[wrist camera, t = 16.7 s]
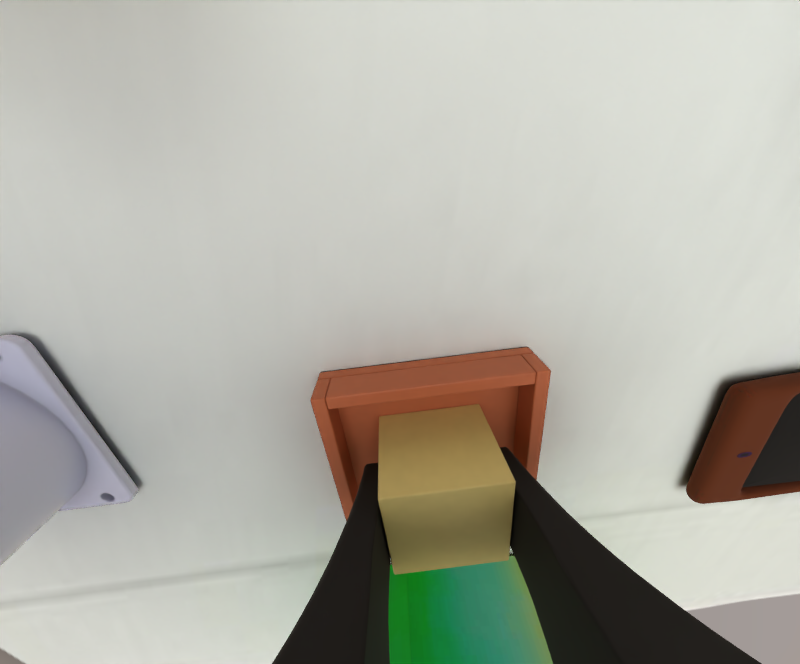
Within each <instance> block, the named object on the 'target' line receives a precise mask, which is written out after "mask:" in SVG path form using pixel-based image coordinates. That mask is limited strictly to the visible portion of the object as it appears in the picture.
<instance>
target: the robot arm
mask: <svg viewBox="0 0 800 664" xmlns="http://www.w3.org/2000/svg"><path fill="white" fill-rule="evenodd" d="M500 450H501V452H502V454H503V456H504V458H505V460H506V462H507V464H508V467H509V469H510V471H511V473H512V475H513V477H514V479H515V481H516V484H515V495H514V506H513V518H512V529H511V540H510V546H511V549H512V551H513V553H514V556H515V558H516V561H517V563H518V565H519V568H520V570H521V573H522V575H523V578H524V580H525V582H526V585H527V587H528V590H529V593H530V595H531V598H532V601H533V603H534V606H535V609H536V612H537V615H538V619H539V622H540V625H541V628H542V631H543V634H544V637H545V640H546V643H547V646H548V649H549V652H550V655H551V659H552V662H553V664H761V663H760V662H758V661H757V660H755V659H754V658H752V657H751V656H749V655H748V654H746V653H745V652H743V651H742V650H740V649H739V648H737V647H736V646H734V645H733V644H732V643H730V642H729V641H727V640H725V639H724V638H723V637H721V636H720V635H718V634H717V633H716V632H714V631H713V630H711V629H710V628H709V627H707V626H706V625H704V624H703V623H702V622H700V621H699V620H697V619H696V618H695V617H693V616H692V615H690V614H689V613H688V612H686V611H685V610H684V609H682V608H681V607H679V606H678V605H677V604H676V603H674V602H673V601H672V600H670V599H669V598H668V597H666V596H665V595H664V594H663V593H661V592H660V591H659V590H657V589H656V588H655V587H653V586H652V585H651V584H649V583H648V582H647V581H646V580H644V579H643V578H642V577H640V576H639V575H638V574H637V573H635V572H634V571H633V570H632V569H630V568H629V567H628V566H627V565H626V564H624V563H623V562H622V561H621V560H620V559H618V558H617V557H616V556H615V555H614V554H612V553H611V552H610V551H609V550H608V549H607V548H605V547H604V546H603V545H602V544H601V543H600V542H598V541H597V540H596V539H595V538H594V537H593V536H592V535H591V534H590V533H588V532H587V531H586V530H585V529H584V528H583V527H582V526H581V525H580V524H579V523H578V522H577V521H576V520H575V519H574V518H573V517H572V516H570V515H569V514H568V513H567V512H566V511H565V510H564V509H563V508H562V507H561V506H560V505H559V504H558V503H557V502H556V501H555V500H554V499H553V498H552V496H551V495H550V494H549V493H548V492H547V491H546V490H545V489H544V488H543V487H542V486H541V485H540V484H539V483H538V482H537V481H536V480H535V478H534V477H533V476H532V475H531V474H530V473H529V472H528V471H527V470H526V468H525V467H524V466H523V465H522V464H521V463H520V461H519V460H518V459H517V458H516V457H515V456H514V454H513V453H512V452H511V451H510V450H509V448H507V447H500ZM137 493H138V488H137V486H136V484H135V483H134V482H133V480H132V479H131V477H130V476H129V475H128V473H127V472H126V471H125V469H124V468H123V467H122V465H121V464H120V462H119V461H118V460H117V458H116V457H115V456H114V454H113V453H112V451H111V450H110V449H109V447H108V446H107V445H106V443H105V442H104V441H103V439H102V438H101V436H100V435H99V434H98V432H97V431H96V430H95V428H94V427H93V425H92V424H91V423H90V421H89V420H88V419H87V417H86V416H85V415H84V413H83V412H82V410H81V409H80V408H79V406H78V405H77V404H76V402H75V401H74V400H73V398H72V397H71V395H70V394H69V393H68V391H67V390H66V389H65V387H64V386H63V384H62V383H61V382H60V380H59V379H58V378H57V376H56V375H55V374H54V372H53V371H52V369H51V368H50V367H49V365H48V364H47V363H46V361H45V360H44V359H43V357H42V356H41V354H40V353H39V352H38V350H37V349H36V348H35V346H34V345H33V344H32V343H31V342H30V341H29V340H27V339H25V338H23V337H20V336H17V335H1V336H0V566H1V565H2V564H3V563H4V562H5V561H6V560H7V559H8V558H9V557H11V556H12V555H13V554H14V553H15V552H16V551H17V550H18V549H19V548H20V547H21V546H22V545H23V544H24V543H25V542H26V541H27V540H28V539H29V538H30V537H31V536H32V535H33V534H34V533H35V532H36V531H37V530H38V529H40V528H41V527H42V526H43V525H44V524H45V523H46V522H47V521H48V520H49V519H50V518H51V517H52V516H53V515H54V514H55V513H56V512H57V511H62V510H70V509H78V508H86V507H94V506H102V505H110V504H118V503H125V502H129V501H131V500H132V499H133V498H134V497H135V495H136V494H137ZM389 579H390V553H389V549H388V544H387V539H386V535H385V530H384V525H383V521H382V516H381V512H380V507H379V502H378V463H370V464H366V466H365V467H364V471H363V475H362V479H361V482H360V486H359V489H358V492H357V495H356V498H355V501H354V503H353V506H352V509H351V511H350V514H349V517H348V519H347V522H346V525H345V527H344V529H343V532H342V534H341V536H340V539H339V541H338V543H337V545H336V548H335V550H334V552H333V555H332V557H331V559H330V561H329V563H328V565H327V567H326V569H325V571H324V573H323V575H322V577H321V579H320V581H319V583H318V585H317V587H316V589H315V591H314V593H313V595H312V597H311V598H310V600H309V602H308V604H307V606H306V607H305V609H304V611H303V613H302V615H301V617H300V618H299V620H298V622H297V624H296V625H295V627H294V629H293V630H292V632H291V634H290V636H289V637H288V639H287V640H286V642H285V644H284V645H283V647H282V649H281V650H280V652H279V653H278V655H277V657H276V658H275V660H274V662H273V663H272V664H390V654H389V622H388V617H389Z"/></svg>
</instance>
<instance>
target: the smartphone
mask: <svg viewBox="0 0 800 664" xmlns="http://www.w3.org/2000/svg"><path fill="white" fill-rule="evenodd" d="M686 492H687V494H688V496H689V497H690V498H691V499H692V500H693V501H695V502H697V503H702V504H705V503H715V502H727V501H736V500H744V499H751V498H758V497H765V496H772V495H779V494H786V493H793V492H800V372H798V373H791V374H785V375H778V376H772V377H767V378H762V379H757V380H751V381H746V382H740V383H736V384H734V385H732V386H731V387H730V388H729V389H728V391H727V392H726V394H725V396H724V399H723V401H722V404H721V406H720V408H719V411H718V413H717V415H716V418H715V420H714V422H713V425H712V427H711V429H710V432H709V434H708V436H707V439H706V441H705V444H704V446H703V448H702V451H701V453H700V455H699V458H698V460H697V462H696V465H695V467H694V469H693V472H692V474H691V477H690V479H689V481H688V484H687V487H686Z"/></svg>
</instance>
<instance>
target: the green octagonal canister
mask: <svg viewBox="0 0 800 664" xmlns="http://www.w3.org/2000/svg"><path fill="white" fill-rule="evenodd" d="M388 622H389V654H390V664H553V662H552V659H551V655H550V652H549V649H548V646H547V643H546V640H545V637H544V634H543V631H542V628H541V625H540V622H539V619H538V615H537V612H536V609H535V606H534V603H533V601H532V598H531V595H530V593H529V590H528V587H527V585H526V582H525V580H524V578H523V575H522V573H521V570H520V568H519V565H518V563H517V561H516V558H515V556H509V560H507V561H499V562H491V563H484V564H476V565H468V566H460V567H452V568H444V569H436V570H428V571H420V572H412V573H405V574H397V575H395V574H394V572H393V567H392V564H391V565H390V579H389V617H388Z"/></svg>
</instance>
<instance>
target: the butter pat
mask: <svg viewBox="0 0 800 664" xmlns="http://www.w3.org/2000/svg"><path fill="white" fill-rule="evenodd" d="M515 484H516V481H515V479H514V477H513V475H512V473H511V471H510V469H509V467H508V464H507V462H506V460H505V458H504V456H503V454H502V452H501V450H500V447H499V445H498V443H497V441H496V439H495V437H494V435H493V432H492V430H491V428H490V426H489V424H488V422H487V420H486V418H485V415H484V413H483V411H482V409H481V407H480V405H479V404H474V405H466V406H458V407H450V408H442V409H434V410H426V411H418V412H410V413H402V414H394V415H386V416H380V417H379V450H378V502H379V507H380V512H381V516H382V521H383V525H384V530H385V535H386V539H387V544H388V549H389V553H390V558H391V563H392V567H393V572H394V574H395V575H397V574H405V573H412V572H420V571H428V570H436V569H444V568H452V567H460V566H468V565H476V564H484V563H491V562H499V561H507V560H509V551H510V540H511V529H512V518H513V506H514V495H515Z"/></svg>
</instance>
